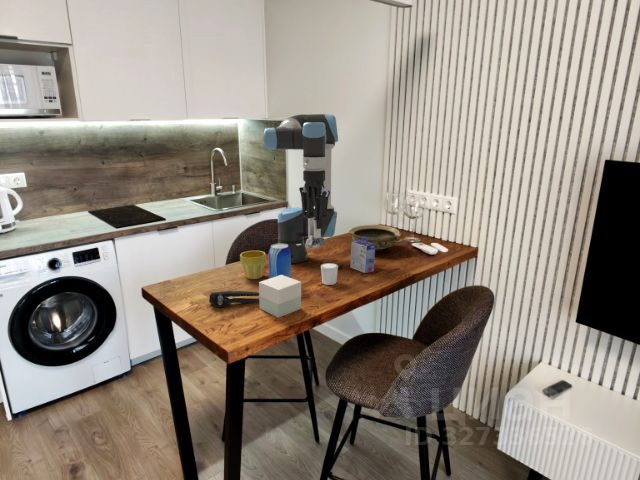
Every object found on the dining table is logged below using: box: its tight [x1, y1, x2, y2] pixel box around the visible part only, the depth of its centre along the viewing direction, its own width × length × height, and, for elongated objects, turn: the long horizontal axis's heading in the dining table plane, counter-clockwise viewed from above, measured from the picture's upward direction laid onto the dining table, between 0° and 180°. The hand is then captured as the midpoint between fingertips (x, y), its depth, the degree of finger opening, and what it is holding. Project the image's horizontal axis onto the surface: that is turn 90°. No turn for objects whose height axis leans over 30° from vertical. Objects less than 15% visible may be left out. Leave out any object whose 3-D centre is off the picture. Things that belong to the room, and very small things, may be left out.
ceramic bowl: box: [347, 224, 403, 253], centre depth 212 cm, size 30×24×10 cm
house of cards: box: [296, 225, 327, 250], centre depth 154 cm, size 9×9×8 cm
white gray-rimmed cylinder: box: [320, 262, 339, 286], centre depth 170 cm, size 7×7×7 cm
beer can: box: [268, 243, 292, 279], centre depth 166 cm, size 8×8×16 cm
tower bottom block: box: [258, 295, 302, 318], centre depth 146 cm, size 10×10×5 cm
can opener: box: [208, 289, 260, 308], centre depth 150 cm, size 18×7×6 cm, turn 102°
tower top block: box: [258, 275, 302, 304], centre depth 145 cm, size 10×10×5 cm
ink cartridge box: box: [349, 236, 376, 274], centre depth 184 cm, size 10×6×14 cm, turn 38°
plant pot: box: [239, 250, 267, 280], centre depth 176 cm, size 10×10×10 cm
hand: (314, 236), depth 152 cm, fingers closed on house of cards, 2 cm apart
